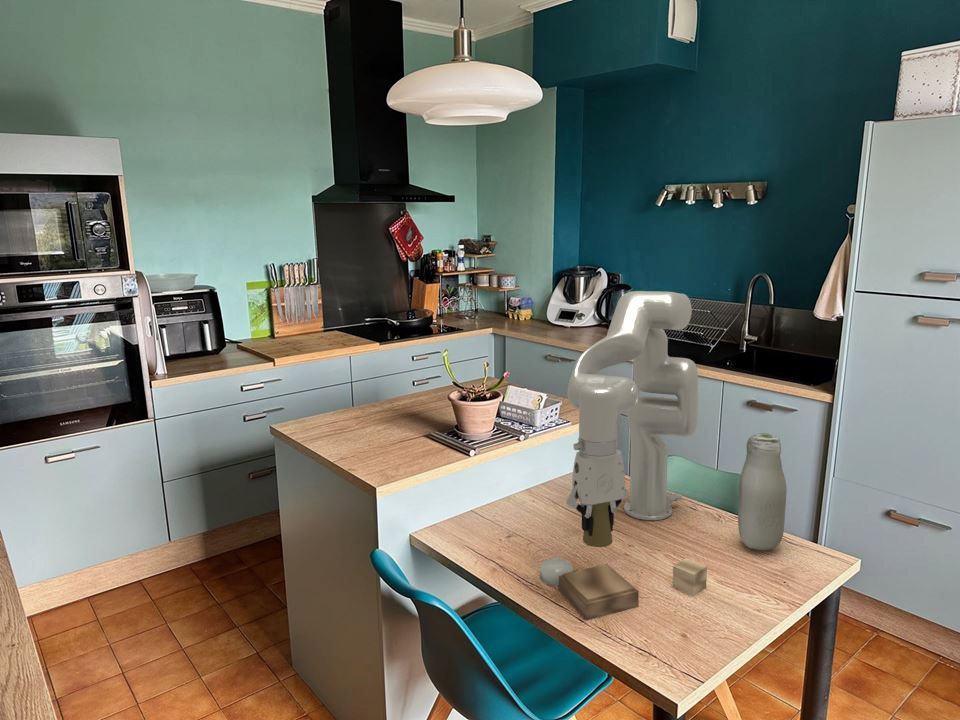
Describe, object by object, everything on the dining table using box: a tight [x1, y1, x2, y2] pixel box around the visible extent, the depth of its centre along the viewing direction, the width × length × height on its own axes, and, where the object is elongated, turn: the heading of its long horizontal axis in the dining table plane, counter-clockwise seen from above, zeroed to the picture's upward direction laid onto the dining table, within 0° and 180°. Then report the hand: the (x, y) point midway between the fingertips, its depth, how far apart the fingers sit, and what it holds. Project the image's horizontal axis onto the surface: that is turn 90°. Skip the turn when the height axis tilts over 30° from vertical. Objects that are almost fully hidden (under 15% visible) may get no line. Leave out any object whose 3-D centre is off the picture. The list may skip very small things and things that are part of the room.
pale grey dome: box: [540, 557, 573, 587], centre depth 152 cm, size 7×7×3 cm
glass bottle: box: [737, 432, 788, 551], centre depth 160 cm, size 10×10×28 cm
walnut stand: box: [558, 563, 640, 621], centre depth 143 cm, size 12×12×4 cm
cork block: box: [671, 557, 708, 597], centre depth 146 cm, size 5×5×5 cm
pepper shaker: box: [582, 502, 613, 548], centre depth 140 cm, size 6×6×11 cm
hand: (597, 530), depth 140 cm, fingers closed on pepper shaker, 3 cm apart
